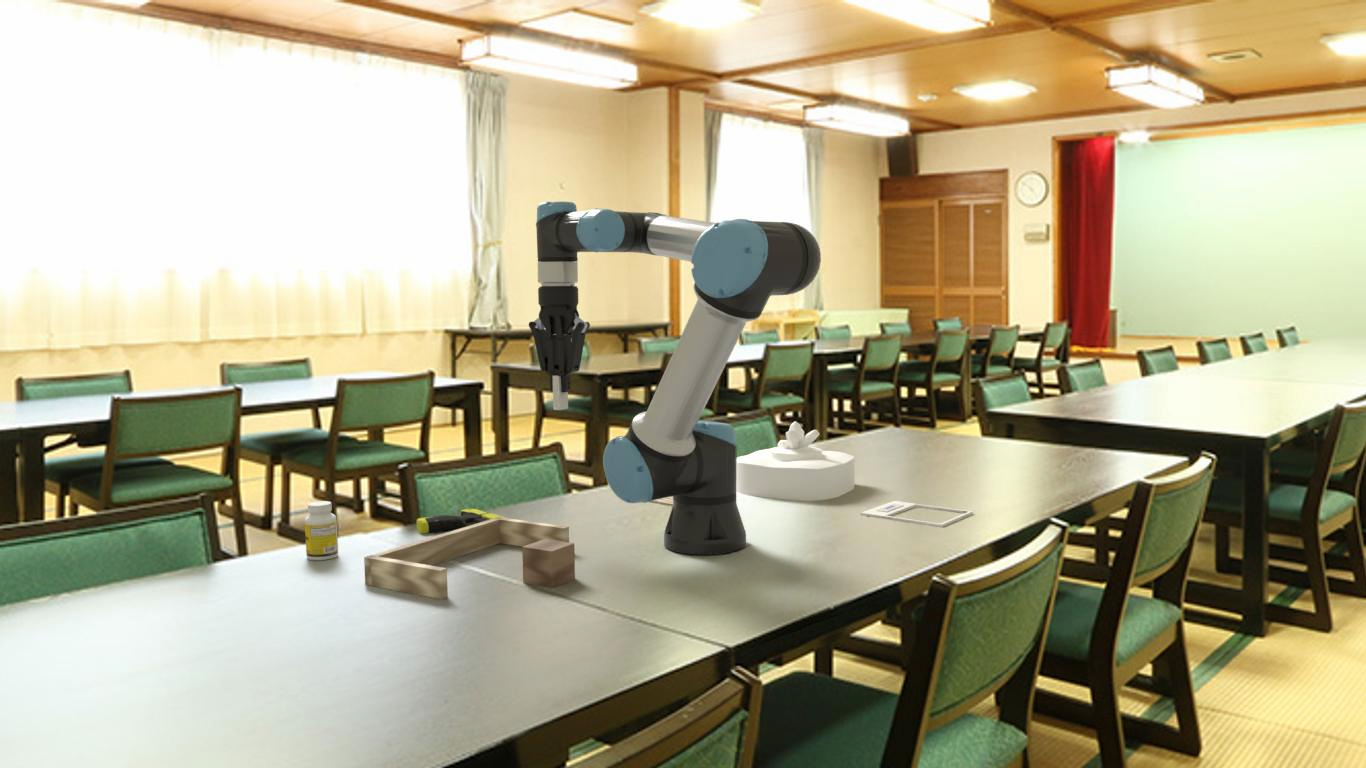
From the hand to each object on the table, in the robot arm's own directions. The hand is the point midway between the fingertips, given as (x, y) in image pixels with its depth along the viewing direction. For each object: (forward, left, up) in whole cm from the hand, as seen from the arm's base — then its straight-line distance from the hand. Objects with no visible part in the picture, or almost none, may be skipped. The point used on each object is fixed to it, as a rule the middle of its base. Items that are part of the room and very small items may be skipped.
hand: (560, 409), depth 201 cm
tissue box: (-20, -63, -25) cm, 70 cm away
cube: (-17, +26, -25) cm, 40 cm away
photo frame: (-54, -49, -25) cm, 77 cm away
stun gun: (+18, +7, -25) cm, 32 cm away
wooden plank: (-6, -35, -25) cm, 44 cm away
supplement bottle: (+28, +34, -25) cm, 50 cm away
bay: (0, +26, -24) cm, 36 cm away
